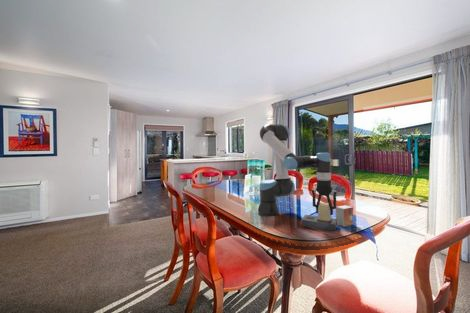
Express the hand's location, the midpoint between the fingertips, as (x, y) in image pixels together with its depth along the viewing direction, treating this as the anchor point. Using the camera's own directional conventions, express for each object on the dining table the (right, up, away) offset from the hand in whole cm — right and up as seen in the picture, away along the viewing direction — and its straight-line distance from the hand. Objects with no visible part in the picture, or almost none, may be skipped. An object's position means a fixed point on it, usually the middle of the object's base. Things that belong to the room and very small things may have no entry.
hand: (324, 219), depth 118 cm
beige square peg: (0, -1, 0) cm, 1 cm away
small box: (+13, -4, +3) cm, 14 cm away
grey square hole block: (-2, -4, +2) cm, 5 cm away
